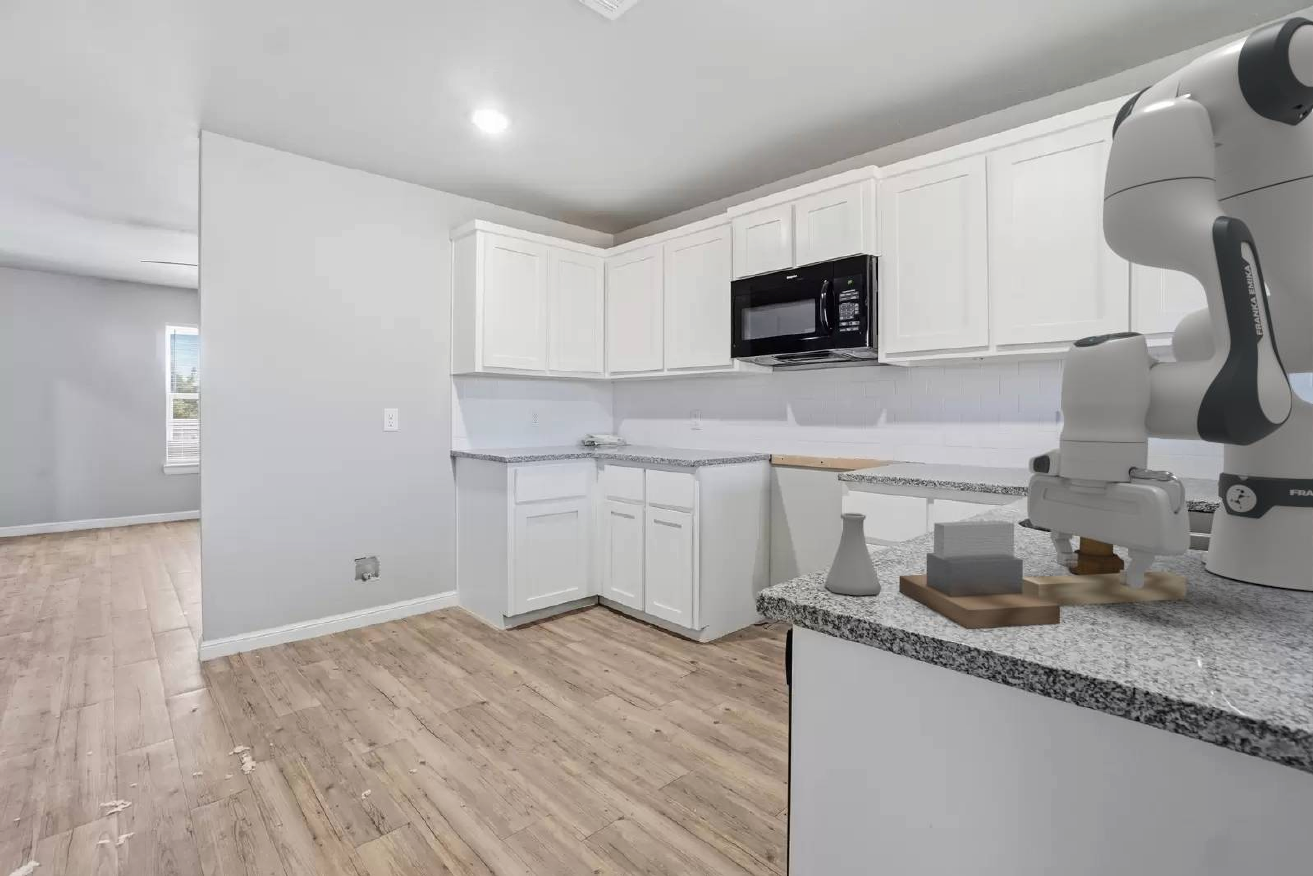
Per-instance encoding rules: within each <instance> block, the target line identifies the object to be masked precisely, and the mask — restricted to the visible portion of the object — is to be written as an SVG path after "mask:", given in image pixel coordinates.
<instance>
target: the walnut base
mask: <svg viewBox="0 0 1313 876" xmlns="http://www.w3.org/2000/svg"><path fill="white" fill-rule="evenodd" d="M926 577H927V574H911V575H910V574H909V575H899V581H898V582H899V586H898V588H899V590H898V591H899V592H901V593H902V594H904V595H906V596H907V597H909V598H912V599H913V600H915V601H916V602H919V603H920V604H922V605H924V606H926V607H928V608H930V609H931V610H934V611H936V612H937V613H939V614H941V615H943V616H944V617H946V618H948V619H950V620H952V621H954V622H955V623H957V624H959V625H961V626H963V627H965V628H966V629H979V628H980V629H981V628H982V629H983V628H985V629H986V628H999V627H1014V626H1015V627H1016V626H1032V625H1034V626H1035V625H1047V624H1048V625H1050V624H1060V623H1061V605H1059V604H1056V603H1054V602H1051V601H1049V600H1046V599H1044V598H1041V597H1039V596H1036V595H1033V594H1031V593H1028V592H1026V591H1023V590H1022V594H1004V595H985V596H966V597H950V596H948V595H946V594H943V593H941V592H939V591H937V590H935V589H933V588H931V587H929V586H927V585H926Z"/></svg>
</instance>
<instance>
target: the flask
mask: <svg viewBox="0 0 1313 876" xmlns="http://www.w3.org/2000/svg"><path fill="white" fill-rule="evenodd" d="M866 517H867V515H866V514H864V513H862V512H842V513H840V519H842V529H841V531H842V532H841V534H840V535H841V537H840V541H839V545H838V548H837V551H836V554H835V556H834V559H833V562H832V565H831V567H830V570H829V572H828V575H827V577H826V580H825V583H824V587H825V588H827V589H828V590H829V591H831V592H833V593H837V594H844V595H845V594H846V595H851V596H864V595H865V596H866V595H868V596H869V595H870V596H871V595H878V594H879V593H880V591H881V590H882V587H881V586H882V585H881V584H880V580H879V577H878V575H877V572H876V570H875V566H874V564H873V561H872V558H871V555H870V552H869V549H868V546H867V542H866V538H865V530H864V529H865V528H864V520H865V519H866Z"/></svg>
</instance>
